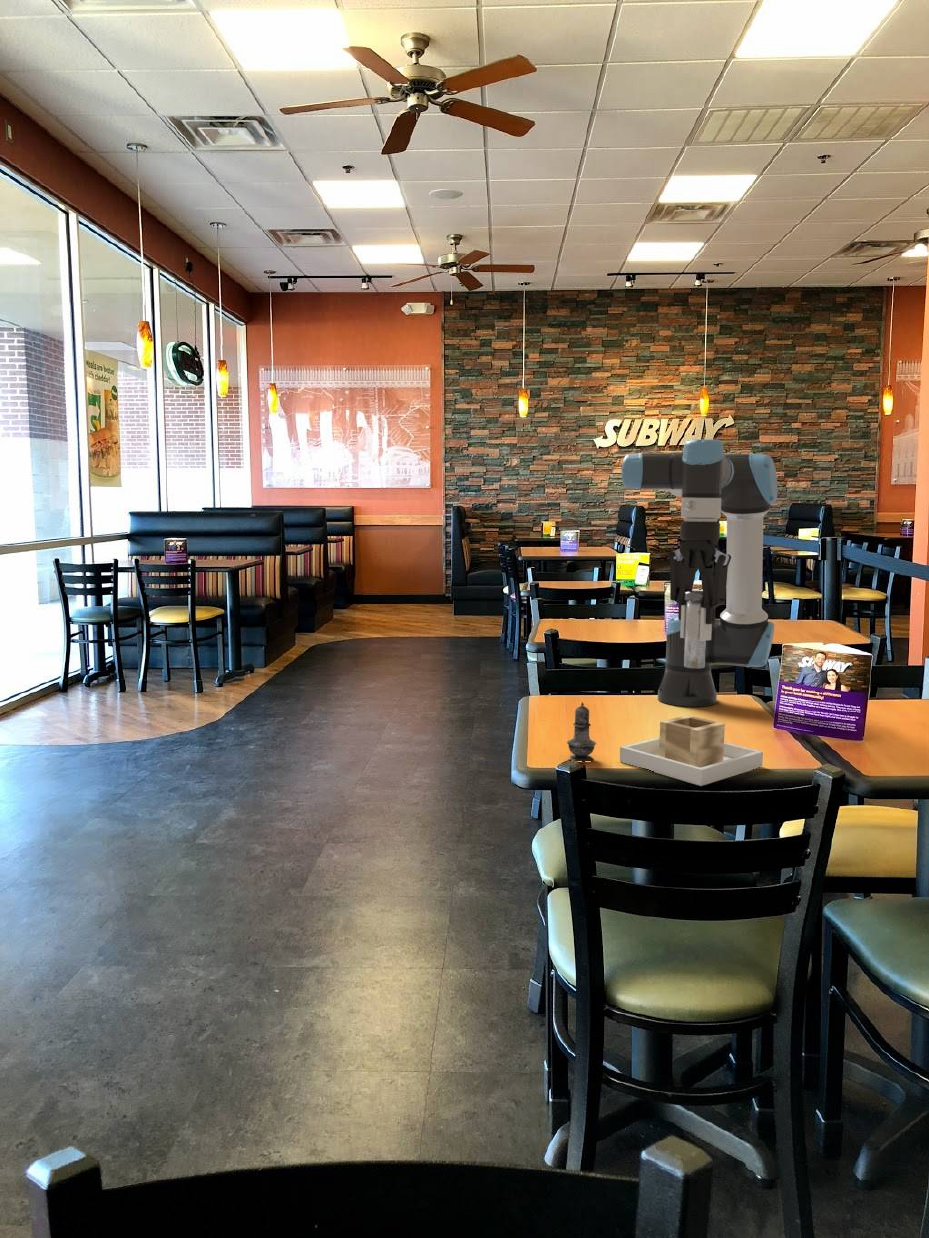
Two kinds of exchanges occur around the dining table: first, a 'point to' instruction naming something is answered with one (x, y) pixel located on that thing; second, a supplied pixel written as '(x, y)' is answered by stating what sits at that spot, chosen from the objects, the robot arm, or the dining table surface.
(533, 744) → the dining table surface
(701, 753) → the wooden box
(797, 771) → the dining table surface
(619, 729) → the dining table surface
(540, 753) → the dining table surface
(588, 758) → the salt shaker
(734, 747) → the tray
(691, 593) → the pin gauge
